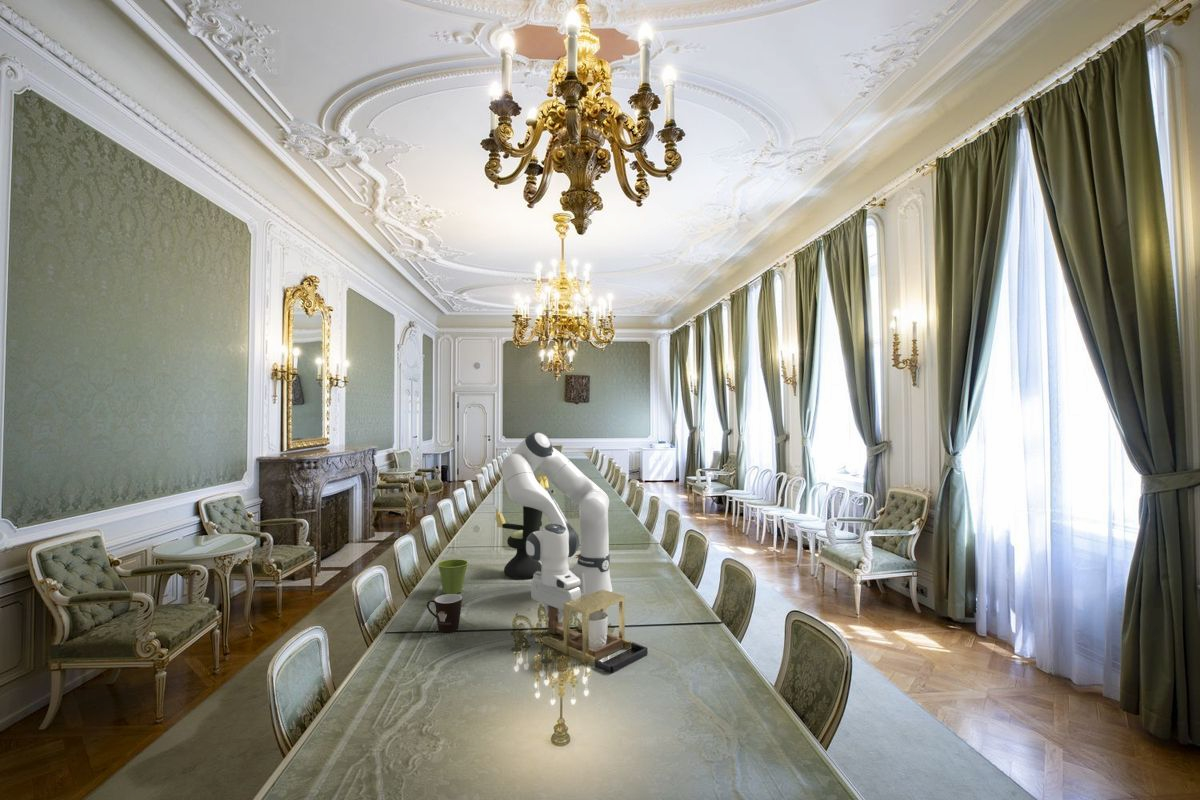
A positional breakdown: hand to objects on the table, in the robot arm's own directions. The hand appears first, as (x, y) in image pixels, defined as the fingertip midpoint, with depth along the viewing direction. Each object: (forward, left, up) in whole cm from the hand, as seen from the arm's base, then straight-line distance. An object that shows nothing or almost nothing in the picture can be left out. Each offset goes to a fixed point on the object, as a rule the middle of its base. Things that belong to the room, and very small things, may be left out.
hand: (554, 619), depth 179 cm
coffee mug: (-28, -22, -4) cm, 36 cm away
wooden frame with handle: (+11, 0, -4) cm, 12 cm away
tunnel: (+18, 0, -4) cm, 18 cm away
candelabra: (-53, +33, -4) cm, 63 cm away
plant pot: (-57, -1, -4) cm, 58 cm away
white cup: (+18, 0, -4) cm, 18 cm away
